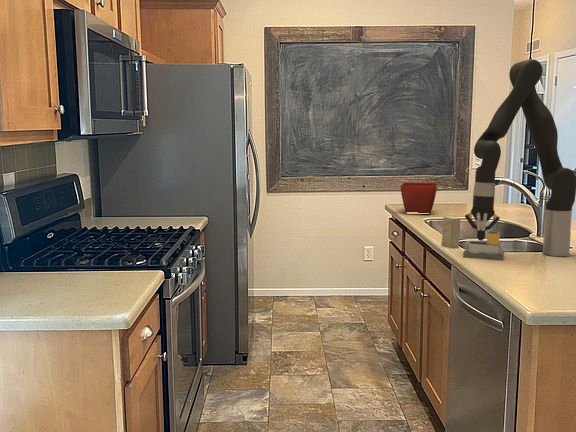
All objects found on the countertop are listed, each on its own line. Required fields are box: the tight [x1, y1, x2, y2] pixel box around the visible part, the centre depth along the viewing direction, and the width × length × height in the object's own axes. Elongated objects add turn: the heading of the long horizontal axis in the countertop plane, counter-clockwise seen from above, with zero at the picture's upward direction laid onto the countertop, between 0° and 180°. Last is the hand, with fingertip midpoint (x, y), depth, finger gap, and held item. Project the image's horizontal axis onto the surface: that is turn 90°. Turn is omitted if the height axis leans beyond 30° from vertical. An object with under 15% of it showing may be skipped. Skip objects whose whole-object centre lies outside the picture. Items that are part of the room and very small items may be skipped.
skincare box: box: [441, 215, 461, 249], centre depth 246 cm, size 6×4×12 cm
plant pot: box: [400, 182, 439, 214], centre depth 341 cm, size 19×19×17 cm
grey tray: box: [462, 240, 505, 261], centre depth 227 cm, size 14×9×5 cm, turn 67°
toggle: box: [486, 230, 500, 245], centre depth 226 cm, size 4×4×7 cm
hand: (480, 240), depth 227 cm, fingers closed
